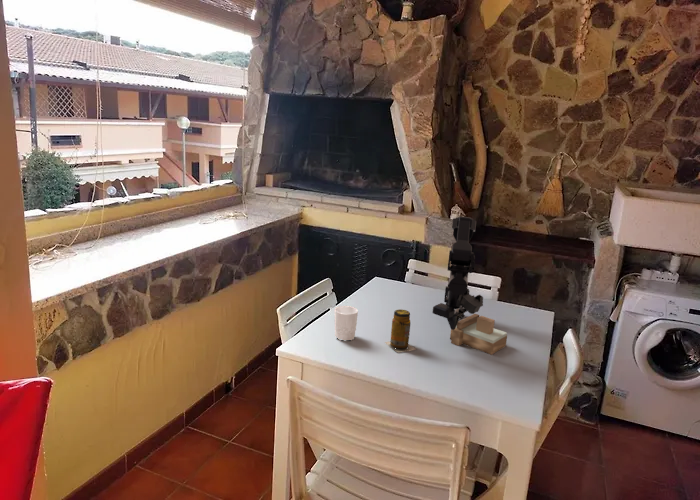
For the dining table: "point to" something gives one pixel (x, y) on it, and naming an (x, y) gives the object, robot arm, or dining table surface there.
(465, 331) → the lid
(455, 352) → the dining table surface
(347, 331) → the white cup
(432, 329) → the dining table surface
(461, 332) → the brown shallow open box
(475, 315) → the brown wooden bar
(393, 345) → the yellow can
